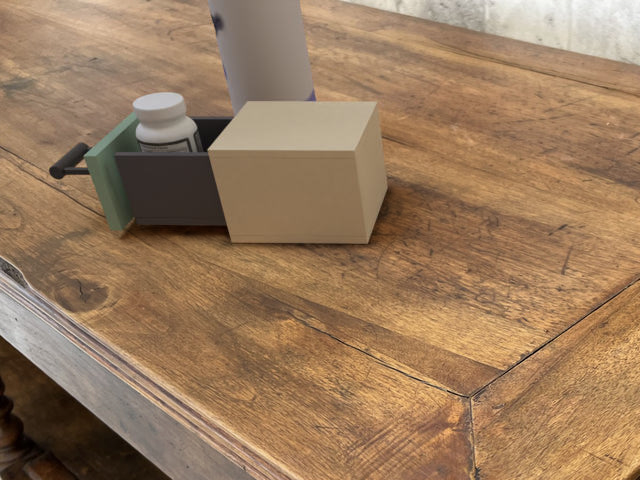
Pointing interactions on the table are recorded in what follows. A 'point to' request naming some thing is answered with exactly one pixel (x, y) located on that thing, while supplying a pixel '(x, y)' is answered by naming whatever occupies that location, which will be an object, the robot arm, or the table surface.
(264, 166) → the cabinet
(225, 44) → the container
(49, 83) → the table surface
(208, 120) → the drawer
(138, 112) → the pill bottle
